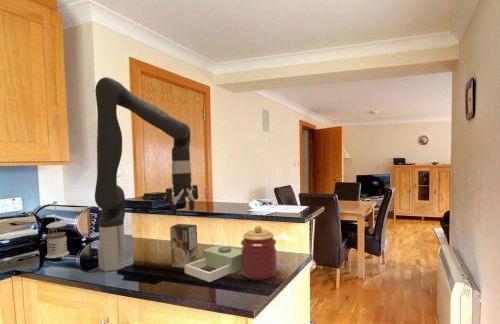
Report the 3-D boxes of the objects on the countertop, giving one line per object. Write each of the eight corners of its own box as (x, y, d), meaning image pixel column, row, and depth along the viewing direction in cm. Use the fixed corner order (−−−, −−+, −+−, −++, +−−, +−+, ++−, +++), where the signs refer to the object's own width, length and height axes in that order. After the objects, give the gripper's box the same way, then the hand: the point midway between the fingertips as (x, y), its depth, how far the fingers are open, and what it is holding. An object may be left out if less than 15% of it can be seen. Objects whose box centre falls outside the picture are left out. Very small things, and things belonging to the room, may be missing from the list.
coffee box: (199, 263, 129) (197, 224, 129) (190, 269, 123) (189, 228, 123) (180, 261, 132) (178, 223, 132) (170, 266, 127) (169, 226, 126)
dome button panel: (211, 282, 109) (210, 262, 109) (183, 272, 120) (182, 254, 120) (248, 266, 123) (247, 249, 123) (219, 258, 134) (219, 242, 134)
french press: (50, 259, 141) (47, 203, 140) (39, 255, 148) (37, 201, 147) (73, 253, 149) (70, 200, 148) (62, 249, 156) (60, 198, 155)
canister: (279, 268, 121) (278, 222, 121) (274, 281, 109) (272, 230, 108) (246, 266, 124) (245, 221, 124) (237, 279, 112) (236, 229, 111)
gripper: (189, 170, 135) (191, 208, 135) (160, 173, 124) (162, 214, 124) (201, 171, 130) (202, 210, 130) (172, 173, 119) (173, 216, 119)
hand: (183, 212), depth 127 cm, fingers open, 8 cm apart
